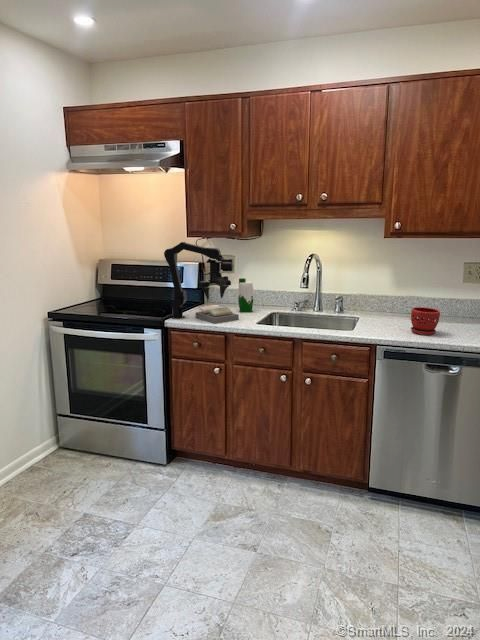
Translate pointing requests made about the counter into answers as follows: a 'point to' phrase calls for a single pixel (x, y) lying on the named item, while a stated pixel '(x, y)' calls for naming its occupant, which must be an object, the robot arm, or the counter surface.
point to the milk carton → (245, 295)
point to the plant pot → (424, 320)
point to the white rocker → (209, 308)
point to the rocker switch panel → (217, 317)
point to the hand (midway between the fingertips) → (214, 298)
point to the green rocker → (220, 311)
